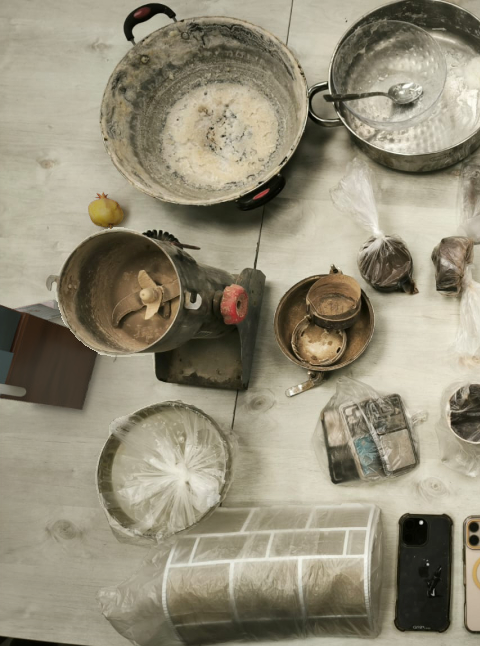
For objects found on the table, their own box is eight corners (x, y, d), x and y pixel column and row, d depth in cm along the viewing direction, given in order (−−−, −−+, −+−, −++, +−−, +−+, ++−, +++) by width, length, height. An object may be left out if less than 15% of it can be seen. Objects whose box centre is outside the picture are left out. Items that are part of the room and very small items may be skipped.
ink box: (19, 316, 124) (-16, 304, 115) (69, 305, 125) (39, 292, 115) (20, 326, 123) (-15, 315, 114) (70, 315, 124) (39, 303, 115)
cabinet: (101, 339, 123) (-25, 294, 90) (81, 409, 120) (-57, 390, 86) (58, 333, 123) (-84, 286, 90) (37, 404, 120) (-118, 382, 87)
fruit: (121, 222, 123) (112, 183, 125) (87, 227, 121) (78, 188, 123) (130, 235, 130) (121, 198, 132) (97, 241, 127) (89, 203, 129)
